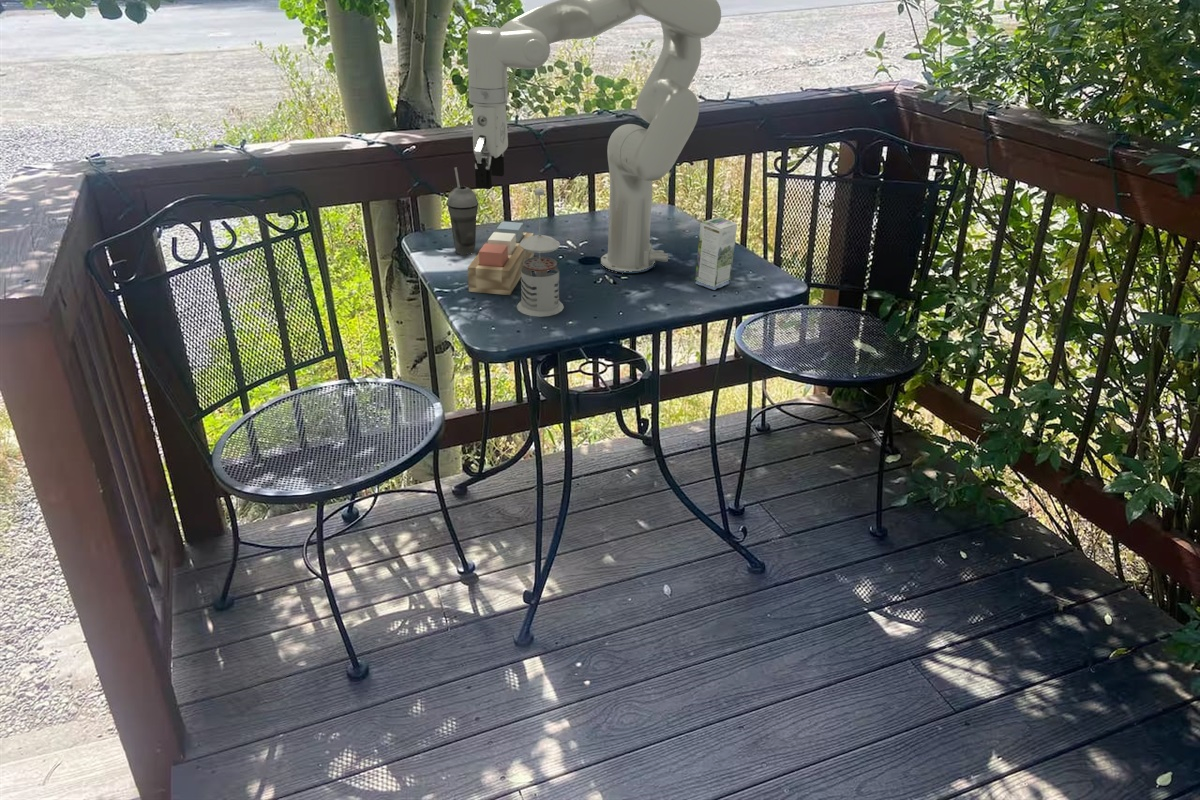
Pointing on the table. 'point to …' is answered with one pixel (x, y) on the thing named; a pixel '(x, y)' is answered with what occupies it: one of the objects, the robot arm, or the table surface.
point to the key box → (498, 273)
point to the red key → (493, 255)
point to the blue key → (512, 229)
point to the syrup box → (715, 251)
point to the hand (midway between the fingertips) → (490, 181)
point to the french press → (539, 275)
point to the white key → (504, 240)
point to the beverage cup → (463, 217)
